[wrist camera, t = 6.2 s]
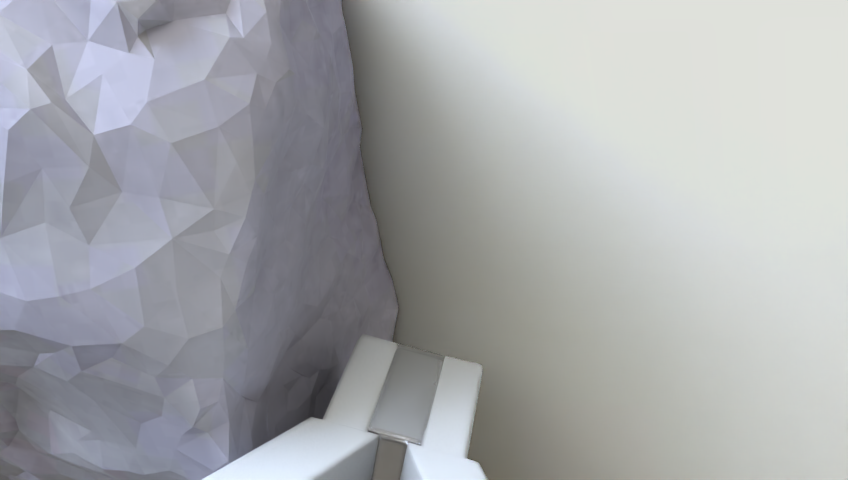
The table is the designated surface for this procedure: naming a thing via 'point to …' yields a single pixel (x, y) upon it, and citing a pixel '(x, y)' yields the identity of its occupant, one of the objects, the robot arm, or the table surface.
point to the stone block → (177, 232)
